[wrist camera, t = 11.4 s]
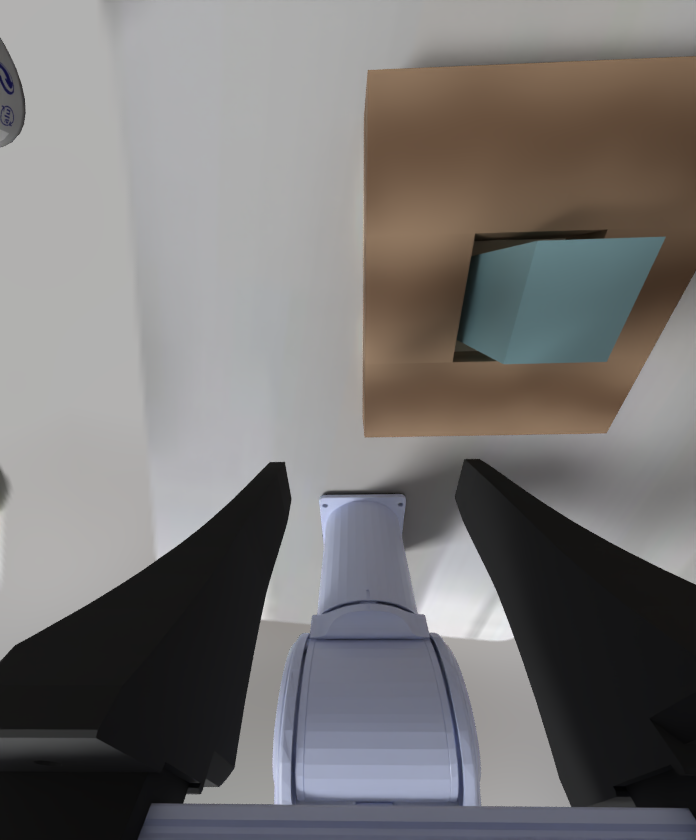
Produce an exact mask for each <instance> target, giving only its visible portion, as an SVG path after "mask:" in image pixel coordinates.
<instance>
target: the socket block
mask: <svg viewBox="0 0 696 840" xmlns="http://www.w3.org/2000/svg"><path fill="white" fill-rule="evenodd" d="M639 237H666V238H665V240H664V242H663V244H662V246H661V248H660V250H659V252H658V255H657V257H656V259H655V261H654V263H653V265H652V267H651V269H650V271H649V274H648V276H647V278H646V280H645V282H644V284H643V286H642V288H641V290H640V293H639V295H638V297H637V299H636V301H635V303H634V305H633V307H632V310H631V312H630V314H629V316H628V318H627V320H626V322H625V324H624V326H623V329H622V331H621V333H620V335H619V337H618V339H617V341H616V343H615V345H614V348H613V350H612V352H611V354H610V356H609V358H608V360H607V362H581V363H538V364H502V363H500V362H498V361H496V360H494V359H492V358H491V357H489V356H487V355H485V354H483V353H481V352H479V351H477V350H475V349H473V348H471V347H469V346H467V345H466V344H464V343H462V342H460V341H458V340H456V339H457V333H458V328H459V322H460V316H461V311H462V305H463V299H464V294H465V288H466V282H467V277H468V271H469V265H470V260H471V256H474V255H479V254H483V253H487V252H491V251H496V250H500V249H504V248H509V247H513V246H517V245H522V244H526V243H530V242H535V241H546V240H577V239H608V238H639ZM695 271H696V56H689V57H665V58H642V59H618V60H595V61H571V62H548V63H524V64H501V65H477V66H454V67H430V68H407V69H383V70H368V75H367V87H366V99H365V111H364V217H363V425H364V436H365V437H413V436H473V435H532V434H592V433H607V431H608V429H609V428H610V426H611V424H612V422H613V420H614V418H615V417H616V415H617V413H618V411H619V409H620V407H621V406H622V404H623V402H624V400H625V398H626V397H627V395H628V393H629V391H630V389H631V387H632V386H633V384H634V382H635V380H636V378H637V377H638V375H639V373H640V371H641V369H642V367H643V366H644V364H645V362H646V360H647V358H648V357H649V355H650V353H651V351H652V349H653V347H654V346H655V344H656V342H657V340H658V338H659V336H660V335H661V333H662V331H663V329H664V327H665V326H666V324H667V322H668V320H669V318H670V316H671V315H672V313H673V311H674V309H675V307H676V306H677V304H678V302H679V300H680V298H681V296H682V295H683V293H684V291H685V289H686V287H687V285H688V284H689V282H690V280H691V278H692V276H693V275H694V273H695Z"/></svg>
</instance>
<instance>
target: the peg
mask: <svg viewBox="0 0 696 840" xmlns="http://www.w3.org/2000/svg"><path fill="white" fill-rule="evenodd" d="M665 238H666V237H639V238H608V239H577V240H546V241H535V242H530V243H526V244H522V245H517V246H513V247H509V248H504V249H500V250H496V251H491V252H487V253H483V254H479V255H474V256H471V260H470V265H469V271H468V277H467V282H466V288H465V294H464V299H463V305H462V311H461V316H460V322H459V328H458V333H457V339H456V340H458V341H460V342H462V343H464V344H466V345H467V346H469V347H471V348H473V349H475V350H477V351H479V352H481V353H483V354H485V355H487V356H489V357H491V358H492V359H494V360H496V361H498V362H500V363H502V364H538V363H581V362H607V360H608V358H609V356H610V354H611V352H612V350H613V348H614V345H615V343H616V341H617V339H618V337H619V335H620V333H621V331H622V329H623V326H624V324H625V322H626V320H627V318H628V316H629V314H630V312H631V310H632V307H633V305H634V303H635V301H636V299H637V297H638V295H639V293H640V290H641V288H642V286H643V284H644V282H645V280H646V278H647V276H648V274H649V271H650V269H651V267H652V265H653V263H654V261H655V259H656V257H657V255H658V252H659V250H660V248H661V246H662V244H663V242H664V240H665Z"/></svg>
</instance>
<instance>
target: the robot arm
mask: <svg viewBox="0 0 696 840" xmlns="http://www.w3.org/2000/svg"><path fill="white" fill-rule="evenodd" d="M455 499H456V502H457V505H458V508H459V511H460V514H461V517H462V520H463V522H464V524H465V526H466V528H467V531H468V533H469V535H470V537H471V539H472V541H473V543H474V545H475V547H476V549H477V551H478V553H479V555H480V557H481V559H482V561H483V563H484V565H485V567H486V569H487V571H488V573H489V575H490V577H491V580H492V582H493V584H494V586H495V588H496V591H497V593H498V596H499V598H500V601H501V603H502V606H503V608H504V611H505V614H506V616H507V619H508V621H509V624H510V627H511V630H512V632H513V635H514V638H515V641H516V643H517V646H518V649H519V652H520V655H521V657H522V660H523V663H524V666H525V669H526V672H527V675H528V678H529V681H530V684H531V687H532V690H533V693H534V696H535V699H536V702H537V705H538V709H539V712H540V715H541V718H542V722H543V725H544V728H545V731H546V734H547V738H548V741H549V744H550V748H551V751H552V754H553V758H554V761H555V765H556V768H557V772H558V775H559V779H560V781H561V783H562V786H563V788H564V790H565V793H566V795H567V797H568V800H569V802H570V805H571V807H505V806H504V807H503V806H502V807H501V806H497V807H496V806H495V807H494V806H481V797H480V777H481V767H480V765H481V764H480V752H479V744H478V738H477V732H476V726H475V722H474V717H473V712H472V708H471V704H470V700H469V696H468V692H467V689H466V685H465V682H464V679H463V676H462V673H461V670H460V668H459V665H458V663H457V660H456V658H455V656H454V654H453V652H452V651H451V649H450V648H449V647H448V645H446V643H445V642H444V641H443V639H442V638H441V637H440V636H439V634H437V633H429V631H428V627H427V622H426V618H425V615H423V614H418V612H417V607H416V602H415V598H414V593H413V588H412V583H411V578H410V573H409V568H408V564H407V559H406V554H405V549H404V544H403V539H402V531H403V522H404V514H405V506H406V497H405V496H404V495H403V494H368V495H322V496H321V497H320V500H319V503H320V513H321V522H322V531H323V540H324V551H323V562H322V572H321V582H320V592H319V602H318V612H317V615H313V616H312V621H311V630H310V633H302V634H301V635H300V636H299V637H298V639H297V641H296V642H295V643H294V644H293V645H292V647H291V649H290V651H289V654H288V657H287V660H286V664H285V667H284V672H283V676H282V682H281V687H280V693H279V699H278V706H277V713H276V721H275V731H274V743H273V778H274V783H275V794H274V797H275V798H274V804H183V802H184V799H185V796H186V794H201V792H202V790H203V787H219V786H220V785H222V784H223V782H224V781H225V780H226V779H227V778H228V776H229V775H230V774H231V772H232V771H233V769H234V767H235V761H236V754H237V748H238V742H239V735H240V729H241V723H242V717H243V710H244V705H245V699H246V693H247V688H248V682H249V677H250V671H251V666H252V660H253V655H254V650H255V645H256V640H257V635H258V630H259V624H260V620H261V615H262V611H263V606H264V601H265V597H266V592H267V589H268V585H269V581H270V578H271V574H272V571H273V568H274V565H275V561H276V558H277V555H278V552H279V548H280V545H281V542H282V539H283V535H284V532H285V529H286V525H287V521H288V516H289V511H290V505H291V494H290V489H289V483H288V477H287V472H286V466H285V462H270V463H269V464H268V465H267V466H266V467H265V468H264V469H263V470H262V471H261V472H260V473H259V474H258V475H257V476H256V477H255V478H254V479H253V480H252V481H251V482H250V483H249V484H248V485H247V486H246V487H245V488H244V489H243V490H242V491H241V492H240V493H239V494H238V495H237V496H236V497H235V498H234V499H233V500H232V501H231V502H229V503H228V504H227V505H226V506H225V507H224V508H223V509H222V510H221V511H219V512H218V513H217V514H216V515H215V516H214V517H213V518H212V519H211V520H209V521H208V522H207V523H206V524H205V525H203V526H202V527H201V528H200V529H199V530H197V531H196V532H195V533H193V534H192V535H191V536H190V537H188V538H187V539H186V540H184V541H183V542H182V543H181V544H179V545H178V546H177V547H175V548H174V549H172V550H171V551H169V552H168V553H167V554H165V555H164V556H162V557H161V558H159V559H158V560H157V561H155V562H154V563H152V564H151V565H149V566H148V567H147V568H145V569H144V570H142V571H141V572H139V573H138V574H136V575H135V576H133V577H132V578H130V579H129V580H127V581H126V582H124V583H122V584H121V585H119V586H117V587H116V588H114V589H113V590H111V591H109V592H108V593H106V594H104V595H103V596H101V597H100V598H98V599H96V600H95V601H93V602H91V603H90V604H88V605H86V606H85V607H83V608H81V609H80V610H78V611H76V612H74V613H72V614H71V615H69V616H67V617H65V618H63V619H62V620H60V621H58V622H56V623H55V624H53V625H51V626H49V627H47V628H46V629H44V630H42V631H40V632H39V633H37V634H35V635H33V636H32V637H30V638H28V639H26V640H25V641H23V642H21V643H19V644H17V645H15V646H14V647H13V648H12V649H11V650H10V651H9V652H8V654H7V655H6V656H5V657H4V658H3V659H2V660H1V661H0V840H696V585H695V584H693V583H691V582H689V581H686V580H684V579H682V578H680V577H678V576H676V575H674V574H672V573H669V572H667V571H665V570H663V569H661V568H659V567H657V566H655V565H653V564H651V563H649V562H647V561H645V560H643V559H641V558H639V557H637V556H635V555H633V554H631V553H629V552H627V551H625V550H623V549H621V548H619V547H618V546H616V545H614V544H612V543H610V542H608V541H606V540H605V539H603V538H601V537H599V536H598V535H596V534H594V533H592V532H590V531H589V530H587V529H585V528H583V527H581V526H580V525H578V524H576V523H575V522H573V521H571V520H570V519H568V518H566V517H565V516H563V515H562V514H560V513H559V512H557V511H555V510H554V509H552V508H551V507H549V506H547V505H546V504H544V503H543V502H541V501H540V500H538V499H537V498H535V497H534V496H532V495H531V494H529V493H528V492H527V491H525V490H524V489H522V488H521V487H519V486H518V485H516V484H515V483H514V482H512V481H511V480H509V479H508V478H506V477H505V476H504V475H502V474H501V473H499V472H498V471H497V470H495V469H494V468H492V467H491V466H489V465H488V464H486V463H485V462H483V461H482V460H480V459H464V462H463V466H462V470H461V474H460V478H459V482H458V486H457V490H456V494H455ZM399 503H400V504H399Z"/></svg>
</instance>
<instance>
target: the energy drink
mask: <svg viewBox="0 0 696 840" xmlns="http://www.w3.org/2000/svg"><path fill="white" fill-rule="evenodd" d="M24 120H25V98H24V93H23V89H22V84H21V81H20V79H19V76H18V73H17V70H16V68H15V65H14V63H13V61H12V59H11V57H10V54H9V52H8V51H7V49H6V47H5V45H4V43H3V42H2V40H1V38H0V147H3V146H6V145H7V144H9V143H11V142H13V140H14V139H15V138H16V137H17V136H18V135H19V134H20V132H21V130H22V127H23V125H24Z"/></svg>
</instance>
